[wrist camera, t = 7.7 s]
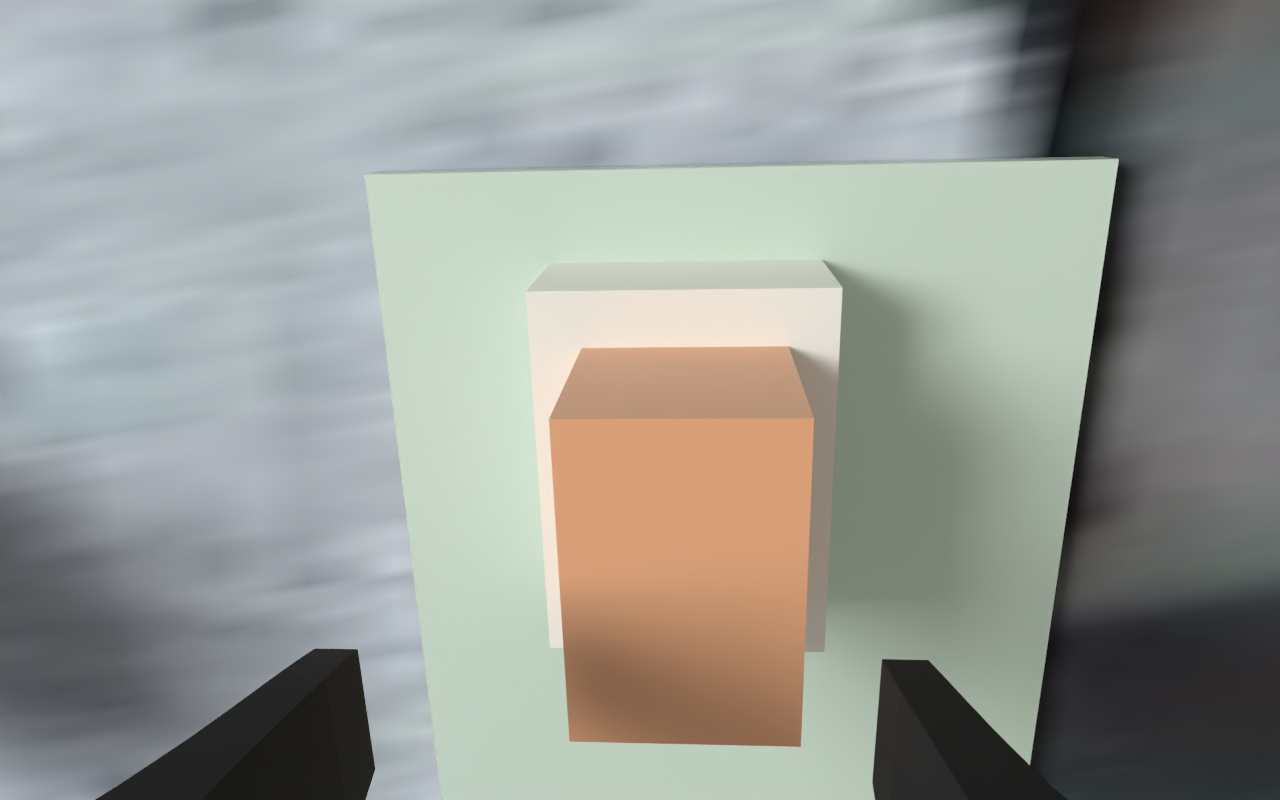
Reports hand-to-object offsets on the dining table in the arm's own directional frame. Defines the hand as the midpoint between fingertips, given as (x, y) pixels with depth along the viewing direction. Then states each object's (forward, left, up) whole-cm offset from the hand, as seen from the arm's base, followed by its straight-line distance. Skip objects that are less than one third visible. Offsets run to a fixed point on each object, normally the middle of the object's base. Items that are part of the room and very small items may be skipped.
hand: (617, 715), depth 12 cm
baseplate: (-4, -2, -10) cm, 11 cm away
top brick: (0, -1, -6) cm, 7 cm away
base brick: (+1, -1, -10) cm, 10 cm away
